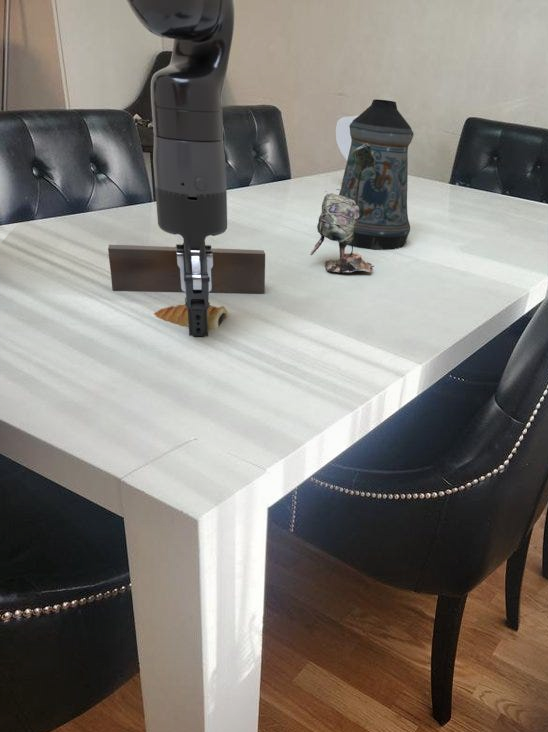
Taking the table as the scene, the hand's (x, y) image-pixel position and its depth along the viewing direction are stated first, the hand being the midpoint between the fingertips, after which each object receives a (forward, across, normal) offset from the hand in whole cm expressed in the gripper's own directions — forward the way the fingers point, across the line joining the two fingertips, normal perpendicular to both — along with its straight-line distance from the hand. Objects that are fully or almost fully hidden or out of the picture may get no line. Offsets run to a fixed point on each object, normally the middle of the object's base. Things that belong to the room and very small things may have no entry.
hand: (198, 337), depth 79 cm
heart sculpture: (0, -107, +47) cm, 117 cm away
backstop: (+1, -22, 0) cm, 22 cm away
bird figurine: (+1, -35, +26) cm, 44 cm away
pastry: (+2, -5, 0) cm, 5 cm away
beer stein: (+1, -58, +37) cm, 69 cm away
